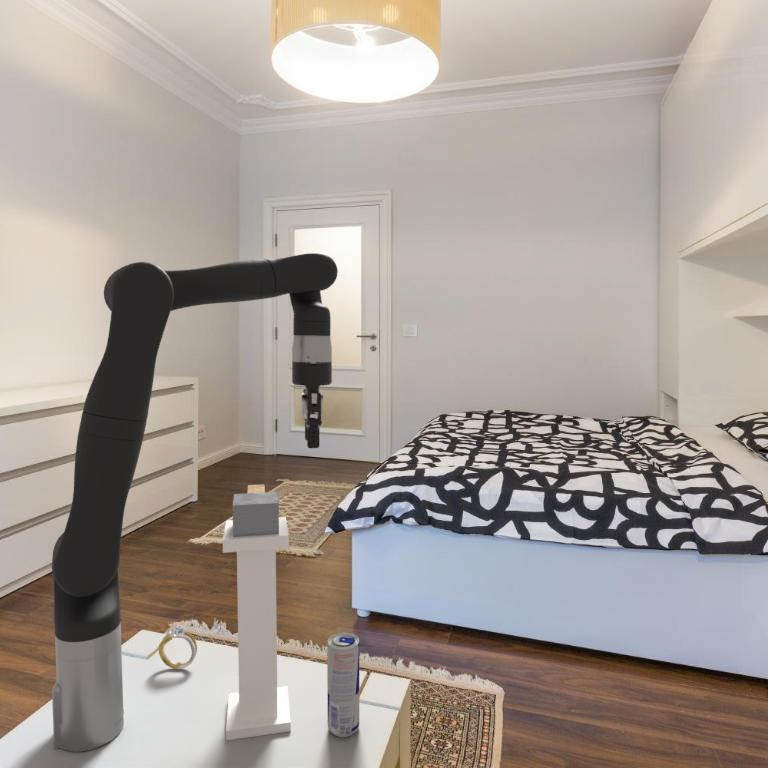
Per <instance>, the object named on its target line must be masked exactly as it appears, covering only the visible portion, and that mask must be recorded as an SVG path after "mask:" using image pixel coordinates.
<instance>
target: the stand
mask: <svg viewBox="0 0 768 768" xmlns="http://www.w3.org/2000/svg"><path fill="white" fill-rule="evenodd" d="M289 535H290V534H289V528H288V522H287V517H286V516H279V534H273V535H258V536H243V537H233V519H232V520H230V519H229V520H225V524H224V530H223V535H222V536H223V537H222V553H223V554H225V553H236V576H237V577H236V579H237V582H236V583H237V639H238V640H237V641H238V642H237V644H238V645H237V646H238V655H237V656H238V692H237V691H236V692H230V693H228V702H227V703H228V704H227V712H226V723H225V724H226V727H225V741H233V740H239V739H244V738H245V739H246V738H252V737H253V738H254V737H260V736H267V735H274V734H281V733H287V732H289V733H290V732H291V731H292V729H291V725H292V723H291V713H290V711H291V709H290V699H289V687H288V685H284V686H278V653H277V652H278V649H277V648H278V643H277V641H278V640H277V639H278V638H277V635H278V634H277V631H278V629H277V557H276V556H277V555H276V553H277V551H276V550H278V549H280V550H281V549H290V536H289Z"/></svg>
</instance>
